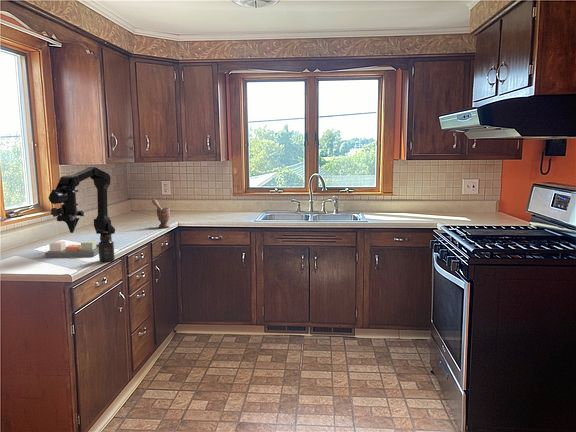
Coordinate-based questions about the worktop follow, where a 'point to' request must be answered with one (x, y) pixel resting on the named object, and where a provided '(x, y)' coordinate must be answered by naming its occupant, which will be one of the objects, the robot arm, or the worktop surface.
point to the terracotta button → (73, 247)
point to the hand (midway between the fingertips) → (71, 232)
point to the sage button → (88, 245)
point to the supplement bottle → (106, 249)
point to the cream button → (57, 246)
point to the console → (72, 253)
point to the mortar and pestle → (162, 215)
